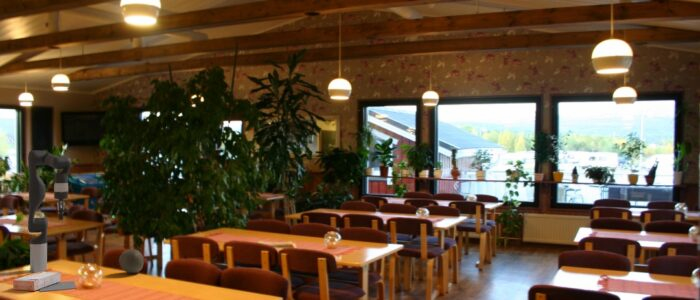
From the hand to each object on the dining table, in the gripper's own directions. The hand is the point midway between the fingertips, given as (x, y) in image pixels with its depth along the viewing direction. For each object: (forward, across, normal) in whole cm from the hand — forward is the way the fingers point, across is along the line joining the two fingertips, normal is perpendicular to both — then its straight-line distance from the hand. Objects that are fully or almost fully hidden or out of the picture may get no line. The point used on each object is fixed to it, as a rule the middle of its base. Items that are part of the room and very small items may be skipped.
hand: (60, 219), depth 353 cm
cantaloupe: (+36, +1, +40) cm, 53 cm away
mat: (+35, +19, -2) cm, 40 cm away
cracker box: (+32, +7, -5) cm, 33 cm away
